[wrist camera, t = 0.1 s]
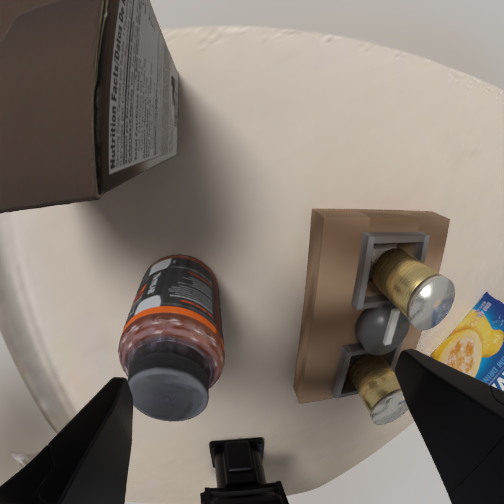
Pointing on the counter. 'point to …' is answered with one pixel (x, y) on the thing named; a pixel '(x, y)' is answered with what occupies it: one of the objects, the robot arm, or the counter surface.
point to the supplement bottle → (173, 339)
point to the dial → (381, 329)
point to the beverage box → (478, 343)
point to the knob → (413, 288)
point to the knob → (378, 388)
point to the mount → (353, 290)
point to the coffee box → (81, 99)
